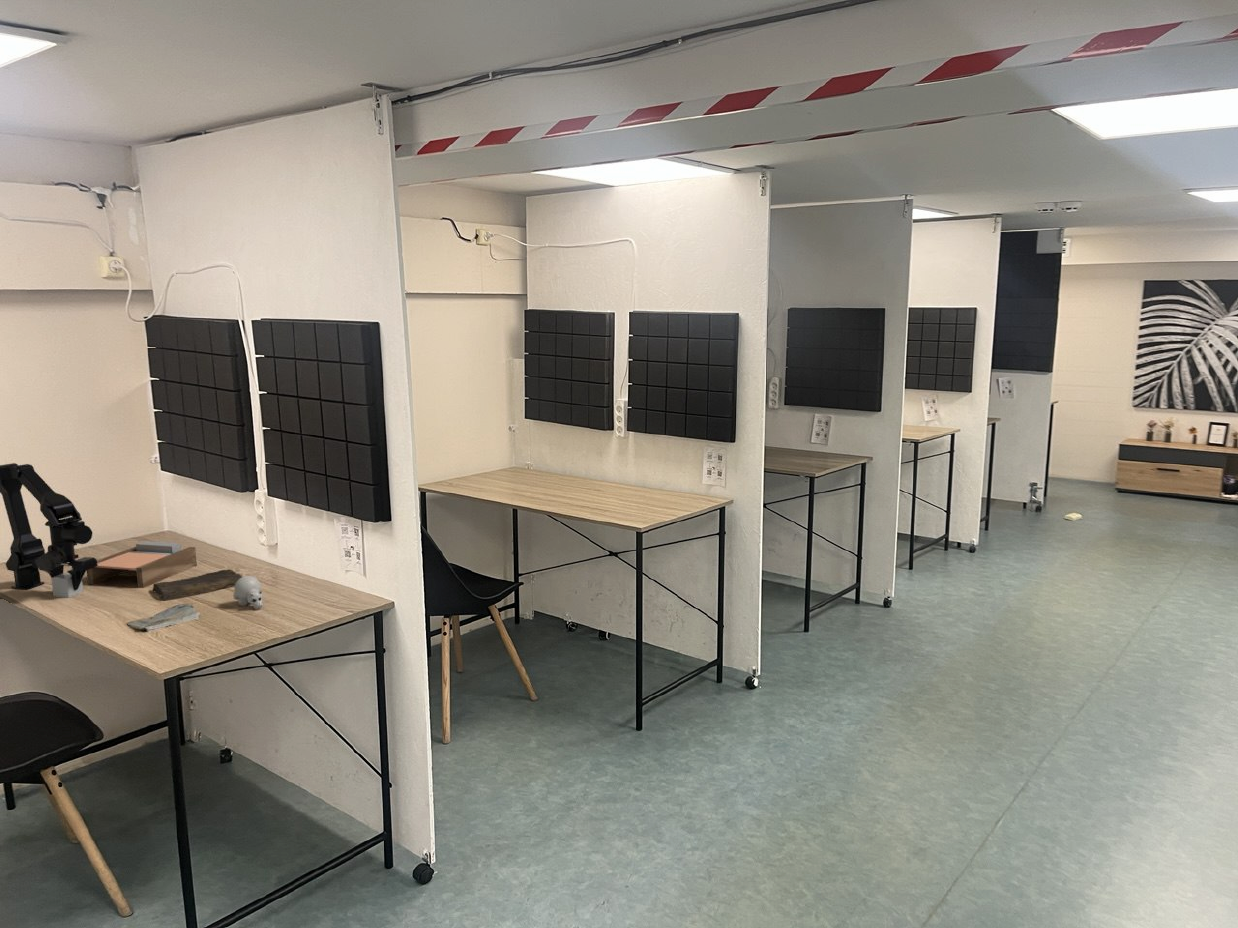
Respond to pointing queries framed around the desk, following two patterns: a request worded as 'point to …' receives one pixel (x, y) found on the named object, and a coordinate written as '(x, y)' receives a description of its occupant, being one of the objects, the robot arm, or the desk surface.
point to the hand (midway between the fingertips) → (67, 589)
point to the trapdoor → (141, 555)
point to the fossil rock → (166, 618)
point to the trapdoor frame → (148, 567)
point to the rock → (196, 585)
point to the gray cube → (64, 586)
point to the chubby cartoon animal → (248, 592)
